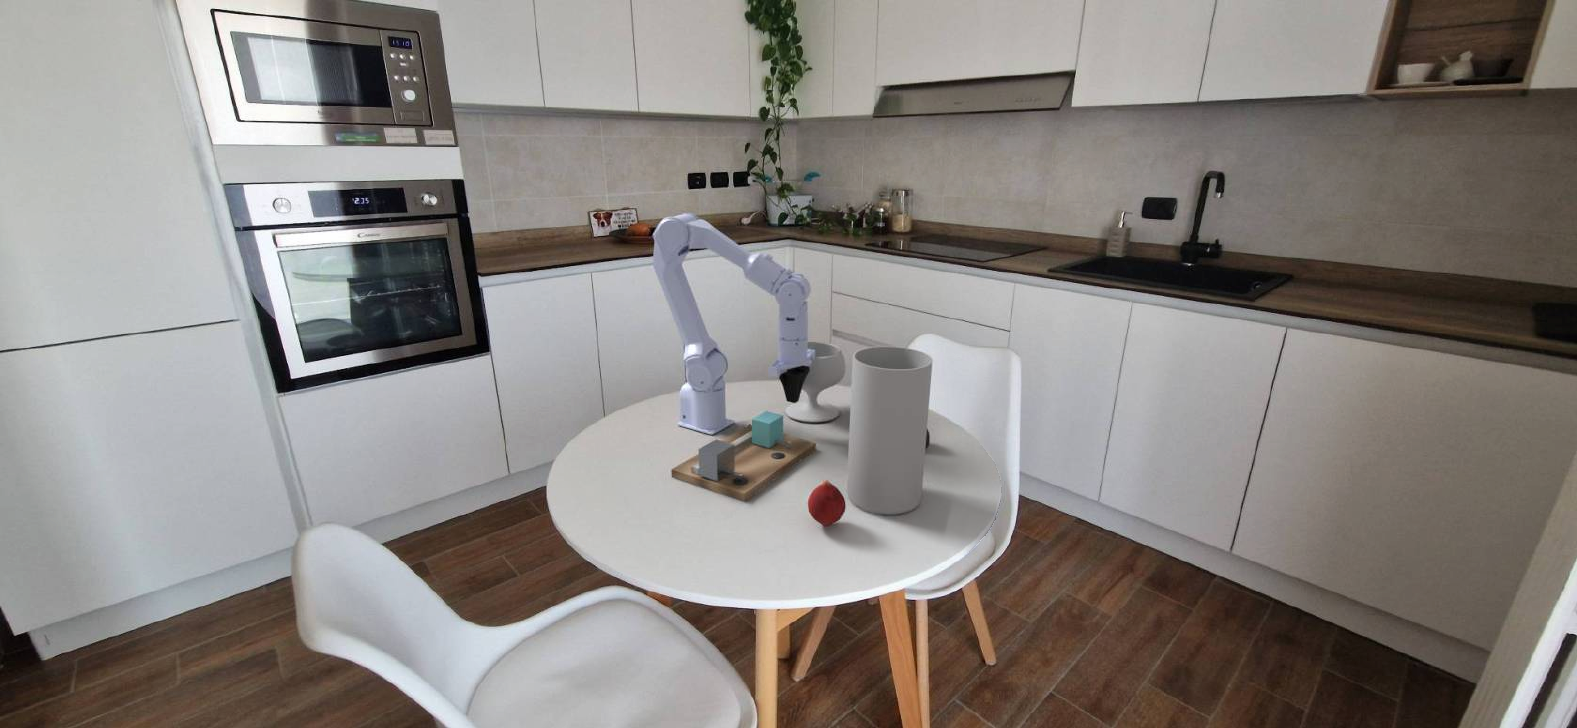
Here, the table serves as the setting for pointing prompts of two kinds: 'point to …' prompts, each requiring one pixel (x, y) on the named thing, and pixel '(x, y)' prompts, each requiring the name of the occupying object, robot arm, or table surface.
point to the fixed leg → (718, 461)
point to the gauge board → (748, 465)
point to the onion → (826, 504)
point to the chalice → (819, 384)
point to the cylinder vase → (888, 428)
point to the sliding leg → (768, 430)
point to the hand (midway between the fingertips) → (792, 401)
